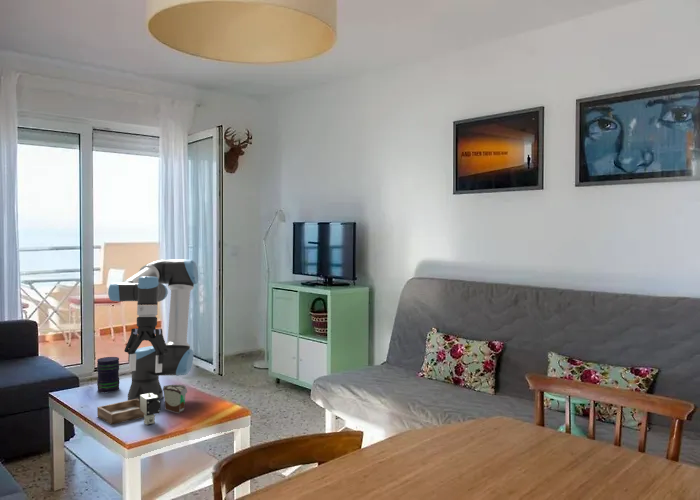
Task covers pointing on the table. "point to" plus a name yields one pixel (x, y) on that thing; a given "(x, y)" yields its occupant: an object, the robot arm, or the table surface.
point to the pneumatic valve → (149, 407)
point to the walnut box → (120, 411)
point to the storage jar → (108, 374)
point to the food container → (175, 398)
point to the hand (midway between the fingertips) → (145, 371)
